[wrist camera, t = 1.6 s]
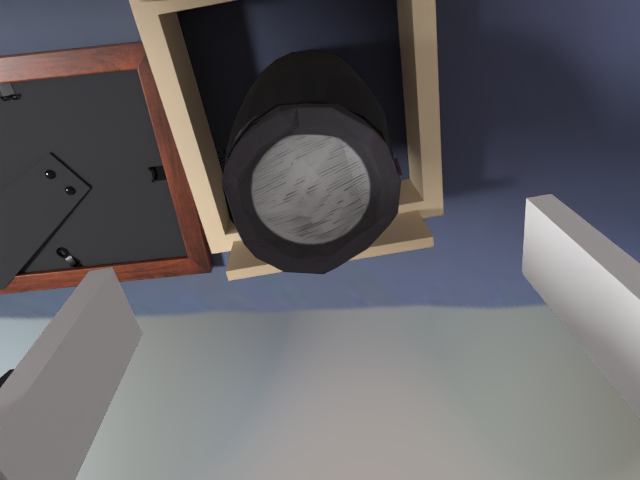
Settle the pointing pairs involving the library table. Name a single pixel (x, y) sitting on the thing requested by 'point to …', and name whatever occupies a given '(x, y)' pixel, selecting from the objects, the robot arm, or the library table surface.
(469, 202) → the library table surface
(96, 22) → the library table surface
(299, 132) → the portable speaker
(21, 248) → the picture frame
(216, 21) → the library table surface
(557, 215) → the robot arm
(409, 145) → the carton
